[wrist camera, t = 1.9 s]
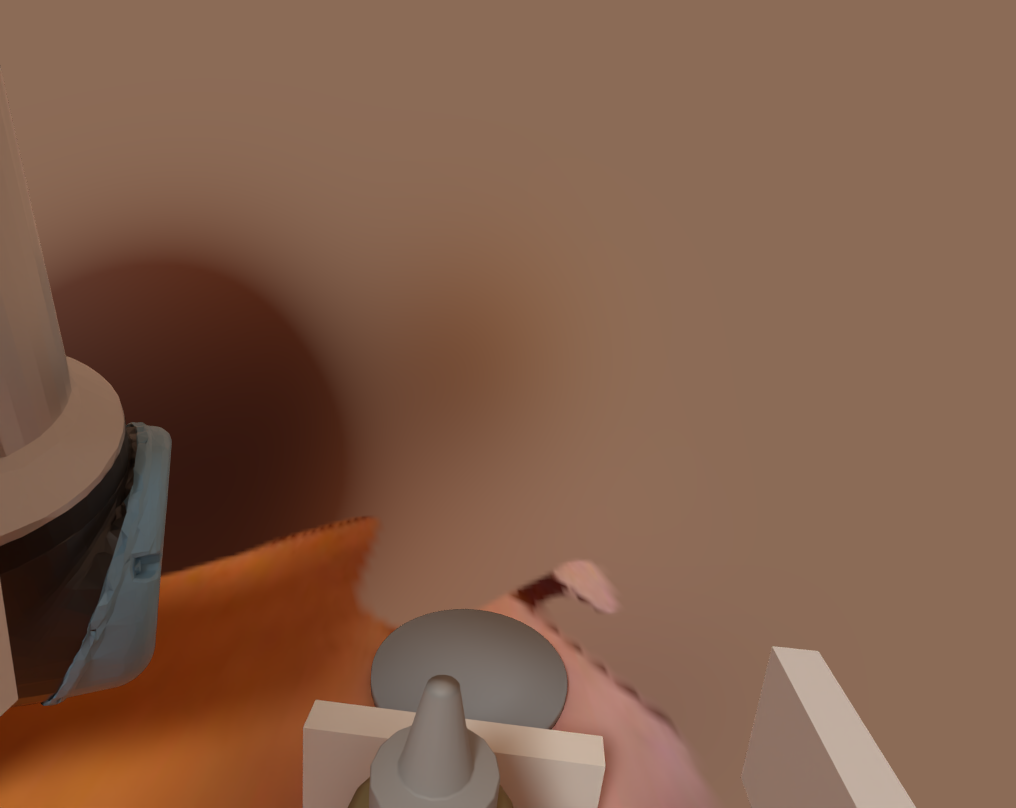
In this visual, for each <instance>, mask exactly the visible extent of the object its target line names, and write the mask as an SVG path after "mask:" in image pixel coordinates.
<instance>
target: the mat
mask: <svg viewBox="0 0 1016 808" xmlns="http://www.w3.org/2000/svg"><path fill="white" fill-rule="evenodd" d="M437 675H449V676H452V677H453V678H455V679H456V680H457V681H458V682H459V684H460V690H461V696H462V702H463V709H464V715H465V719H471V720H479V721H487V722H494V723H502V724H510V725H518V726H526V727H534V728H542V729H549V730H551V729H552V728H553V727H554V725H555V724H556V722H557V721H558V719H559V718H560V715H561V713H562V711H563V708H564V704H565V699H566V693H567V675H566V670H565V667H564V664H563V662H562V660H561V658H560V656H559V654H558V653H557V651H556V650H555V648H554V647H553V646H552V645H551V644H550V643H549V642H548V640H547V639H545V638H544V637H543V636H542V635H541V634H540V633H538V632H537V631H535V630H534V629H532V628H531V627H529V626H527V625H526V624H524V623H522V622H520V621H517V620H515V619H513V618H510V617H507V616H504V615H501V614H497V613H493V612H489V611H482V610H473V609H454V610H444V611H438V612H433V613H430V614H426V615H423V616H420V617H418V618H415V619H413V620H411V621H409V622H407V623H405V624H403V625H402V626H400V627H399V628H397V629H396V630H395V631H394V632H392V633H391V634H390V635H389V636H388V637H387V638H386V639H385V640H384V641H383V643H382V644H381V646H380V647H379V649H378V650H377V653H376V655H375V657H374V660H373V664H372V670H371V692H372V697H373V701H374V704H375V706H376V707H377V708H385V709H393V710H400V711H408V712H417V709H418V706H419V703H420V700H421V697H422V695H423V692H424V689H425V686H426V684H427V682H428V680H429V679H430V678H432V677H434V676H437Z"/></svg>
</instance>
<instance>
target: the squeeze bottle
mask: <svg viewBox="0 0 1016 808" xmlns="http://www.w3.org/2000/svg"><path fill="white" fill-rule="evenodd" d="M348 808H513V804H512V801H511V800H510V798H509V797H508V795H507V794H506V792H505V791H504V790H503V788H502V787H501V785H500V772H499V767H498V762H497V757H496V755H495V754H494V753H493V751H492V750H491V748H490V747H489V746H488V744H487V743H486V741H485V740H484V739H483V738H481V737H480V736H478V735H477V734H475V733H474V732H472V731H471V730H469V729H468V728H467V727H466V721H465V715H464V709H463V702H462V696H461V690H460V684H459V682H458V681H457V680H456V679H455V678H453V677H452V676H449V675H437V676H434V677H432V678H430V679H429V680H428V682H427V684H426V686H425V689H424V692H423V695H422V697H421V700H420V703H419V706H418V709H417V712H416V715H415V717H414V720H413V723H412V725H411V726H409V727H406V728H404V729H401V730H399V731H397V732H396V733H395V734H393V735H392V736H391V737H390V738H389V739H388V740H386V741H385V742H384V743H383V744H382V745H381V746H380V748H379V750H378V751H377V753H376V755H375V757H374V759H373V761H372V763H371V765H370V777H369V778H368V779H367V780H366V781H365V782H364V783H362V784H361V785H360V786H359V787H358V788H357V790H356V792H355V794H354V796H353V798H352V800H351V802H350V804H349V806H348Z"/></svg>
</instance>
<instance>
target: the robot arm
mask: <svg viewBox="0 0 1016 808" xmlns="http://www.w3.org/2000/svg"><path fill="white" fill-rule="evenodd" d="M170 456H171V438H170V435H169V433H168V432H166V431H165V430H163V429H162V428H161V427H154V426H147V425H145V424H144V423H142V422H139V423H133V422H132V423H130V424H128V425H127V426H126V423H125V417H124V412H123V409H122V406H121V403H120V400H119V397H118V395H117V393H116V392H115V391H114V389H113V388H112V386H111V385H110V384H109V383H108V382H107V381H106V380H105V379H104V378H103V377H102V376H101V375H100V374H98V373H97V372H95V371H94V370H93V369H91V368H90V367H88V366H86V365H84V364H83V363H81V362H79V361H77V360H75V359H72V358H70V357H67V356H65V352H64V347H63V342H62V338H61V333H60V329H59V325H58V320H57V316H56V311H55V307H54V302H53V298H52V294H51V289H50V285H49V280H48V276H47V272H46V267H45V262H44V258H43V253H42V249H41V244H40V240H39V236H38V231H37V227H36V222H35V218H34V214H33V209H32V204H31V200H30V196H29V191H28V187H27V182H26V178H25V174H24V169H23V165H22V160H21V156H20V151H19V147H18V143H17V138H16V133H15V129H14V125H13V120H12V115H11V111H10V107H9V102H8V98H7V93H6V89H5V84H4V80H3V75H2V72H1V67H0V716H1V715H2V714H3V713H5V712H6V711H7V710H8V709H9V708H10V707H16V706H23V705H30V704H36V703H41V704H42V705H43V706H50V705H56V704H58V703H60V702H63V701H64V700H65V699H66V698H67V697H72V696H77V695H82V694H86V693H91V692H96V691H101V690H105V689H110V688H115V687H118V686H122V685H124V684H126V683H128V682H130V681H131V680H133V679H135V678H136V677H137V676H138V675H139V674H141V673H142V672H143V670H144V669H145V668H146V667H147V665H148V664H149V662H150V661H151V658H152V656H153V653H154V649H155V641H156V629H157V616H158V603H159V589H160V577H161V564H162V554H163V542H164V530H165V529H164V528H165V518H166V506H167V494H168V480H169V469H170ZM741 779H742V782H743V785H744V788H745V791H746V794H747V796H748V799H749V802H750V805H751V808H916V807H915V806H914V804H913V802H912V801H911V799H910V798H909V796H908V794H907V793H906V791H905V790H904V788H903V786H902V785H901V783H900V781H899V780H898V778H897V777H896V775H895V773H894V772H893V770H892V769H891V767H890V766H889V764H888V762H887V760H886V759H885V757H884V756H883V754H882V752H881V751H880V749H879V748H878V746H877V744H876V743H875V741H874V740H873V738H872V736H871V735H870V733H869V732H868V730H867V728H866V727H865V725H864V724H863V722H862V721H861V719H860V717H859V716H858V714H857V712H856V711H855V709H854V708H853V706H852V704H851V703H850V701H849V699H848V698H847V696H846V695H845V693H844V691H843V690H842V688H841V687H840V685H839V683H838V682H837V680H836V679H835V677H834V675H833V674H832V673H831V671H830V669H829V667H828V666H827V664H826V663H825V661H824V659H823V658H822V656H821V655H820V653H819V651H811V650H802V649H792V648H783V647H772V649H771V653H770V658H769V662H768V666H767V670H766V674H765V678H764V683H763V687H762V691H761V695H760V700H759V704H758V708H757V712H756V717H755V720H754V724H753V729H752V733H751V737H750V741H749V746H748V750H747V754H746V758H745V762H744V766H743V771H742V775H741Z"/></svg>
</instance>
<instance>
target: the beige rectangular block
mask: <svg viewBox="0 0 1016 808" xmlns="http://www.w3.org/2000/svg"><path fill="white" fill-rule="evenodd" d="M415 715H416V712H408V711H400V710H393V709H385V708H377V707H369V706H361V705H353V704H346V703H338V702H330V701H322V700H315V702H314V705H313V707H312V709H311V711H310V713H309V716H308V718H307V720H306V722H305V725H304V727H303V808H348V806H349V804H350V802H351V800H352V798H353V796H354V794H355V792H356V790H357V788H358V787H359V786H360V785H361V784H362V783H364V782H365V781H366V780H367V779H368V778H369V777H370V765H371V763H372V761H373V759H374V757H375V755H376V753H377V751H378V750H379V748H380V746H381V745H382V744H383V743H384V742H385V741H386V740H388V739H389V738H390V737H391V736H392V735H393V734H395V733H396V732H397V731H399V730H401V729H404V728H406V727H409V726H411V725H412V723H413V720H414V717H415ZM465 721H466V727H467V728H468V729H469V730H471V731H472V732H474V733H475V734H477V735H478V736H480V737H481V738H483V739H484V740H485V741H486V743H487V744H488V746H489V747H490V748H491V750H492V751H493V753H494V754H495V755H496V757H497V762H498V767H499V772H500V785H501V787H502V788H503V790H504V791H505V792H506V794H507V795H508V797H509V798H510V800H511V801H512V804H513V808H598V803H599V797H600V792H601V787H602V782H603V777H604V772H605V756H604V746H603V736H596V735H589V734H581V733H573V732H565V731H557V730H549V729H542V728H534V727H526V726H518V725H510V724H502V723H494V722H487V721H479V720H471V719H465Z"/></svg>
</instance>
